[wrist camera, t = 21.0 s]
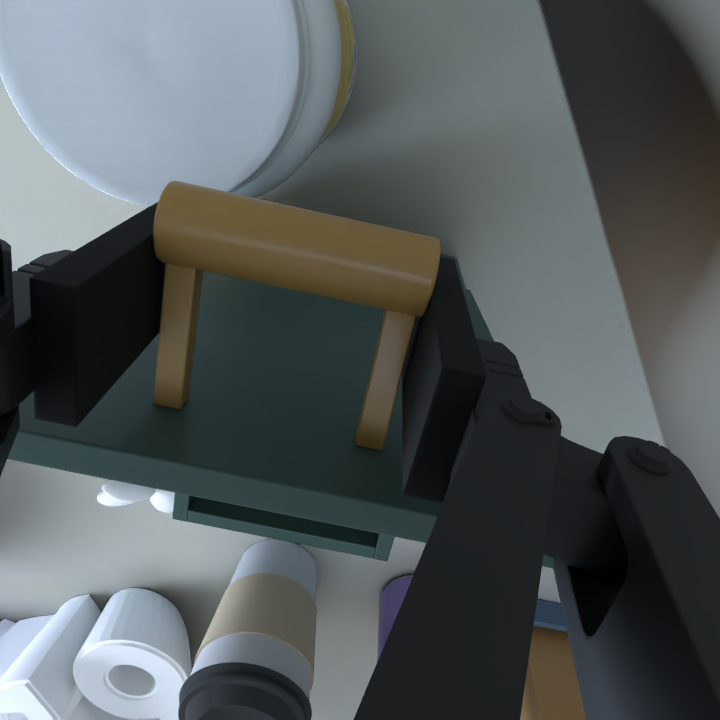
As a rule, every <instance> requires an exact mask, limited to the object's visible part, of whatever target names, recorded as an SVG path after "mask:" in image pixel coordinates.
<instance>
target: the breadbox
mask: <svg viewBox="0 0 720 720" xmlns="http://www.w3.org/2000/svg"><path fill="white" fill-rule="evenodd" d="M440 257H445V258H449V259H454V260H455V263H456V267H457V271H458V274H459V278H460V282H461V285H462V288H463V289H466V288H465V285H464V281H463V278H462V275H461V271H460V268H459V264H458V261H457V258H455V257H451V256H446V255H440ZM173 519H176V520H181V521H188V522H193V523H198V524H203V525H208V526H213V527H218V528H223V529H228V530H233V531H238V532H243V533H248V534H253V535H258V536H263V537H268V538H273V539H278V540H283V541H288V542H293V543H298V544H303V545H308V546H313V547H318V548H323V549H329V550H334V551H339V552H344V553H349V554H354V555H359V556H364V557H369V558H374V559H378V560H383V561H387V560H388V557H389V554H390V550H391V547H392V544H393V540H394V536H389V535H384V534H379V533H374V532H369V531H364V530H359V529H354V528H349V527H344V526H339V525H334V524H329V523H324V522H319V521H314V520H309V519H304V518H299V517H294V516H289V515H284V514H279V513H274V512H269V511H264V510H259V509H254V508H249V507H244V506H239V505H234V504H229V503H224V502H219V501H214V500H209V499H204V498H199V497H194V496H189V495H184V494H179V493H175V496H174V508H173Z"/></svg>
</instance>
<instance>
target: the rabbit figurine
mask: <svg viewBox="0 0 720 720" xmlns="http://www.w3.org/2000/svg"><path fill="white" fill-rule="evenodd" d="M102 490H103V491H102V492H101V493H100V494H99V495H98V497H97V500H98V502H100V503H101V504H103V505H107V506H121V505H127V504H132V503H135V502H138V501H145V500H148V499H149V498H150V500H151V503H152V504H153V505H154V507H155V508H157V509H158V510H159V511H162V512H166V513H169V512H173V508H174V496H175V493H174V492H169V491H164V490H159V489H154V488H149V487H144V486H139V485H134V484H129V483H124V482H119V481H114V480H110V481H108V482H106V483H105V484H104V485H103V486H102Z"/></svg>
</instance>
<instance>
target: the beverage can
mask: <svg viewBox="0 0 720 720" xmlns="http://www.w3.org/2000/svg"><path fill="white" fill-rule="evenodd" d="M412 578H413V575H406V576H402V577H399V578H397V579H395V580H393V581H392V582H391V583H390V584H389V585H388V586H387V587H386V588H385V589H384V591H383V592H382V594H381V596H380V603H379V630H378V657H377V662H378V660H379V657H380V655H381V652H382V650H383V648H384V645H385V643H386V640H387V638H388V636H389V633H390V631H391V628H392V626H393V623H394V621H395V619H396V616H397V614H398V611H399V609H400V607H401V604H402V602H403V599H404V597H405V594H406V592H407V590H408V587H409V585H410V582H411V580H412Z"/></svg>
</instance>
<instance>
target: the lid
mask: <svg viewBox="0 0 720 720" xmlns="http://www.w3.org/2000/svg"><path fill="white" fill-rule="evenodd" d="M153 244H154V251H155V254H156V257H157V258H158V259H159V260H160V261H161V262H163V263H165V274H164V286H163V297H162V309H161V320H160V331H159V334H158V335H157V336H156V337H155V338H154V339H153V340H152V342H151V343H150V344H149V345H148V346H147V347H146V348H145V350H144V351H143V352H142V353H141V354H140V355H139V356H138V358H137V359H136V360H135V361H134V362H133V363H132V364H131V366H130V367H129V368H128V369H127V370H126V371H125V372H124V374H123V375H122V376H121V377H120V378H119V379H118V380H117V382H116V383H115V384H114V385H113V386H112V387H111V388H110V390H109V391H108V392H107V393H106V394H105V395H104V396H103V398H102V399H101V400H100V401H99V402H98V403H97V404H96V406H95V407H94V408H93V409H92V410H91V411H90V412H89V414H88V415H87V416H86V417H85V418H84V419H83V420H82V422H81V423H80V424H79V425H78V426H77V427H73V426H68V425H63V424H58V423H53V422H48V421H43V420H39V419H35V414H34V391H33V392H32V393H31V394H30V395H29V396H28V397H27V398H26V399H25V400H24V401H23V402H21V403H20V404H19V413H20V428H19V430H18V433H17V435H16V438H15V440H14V443H13V446H12V448H11V451H10V453H9V456H8V458H7V459H10V460H15V461H20V462H25V463H30V464H35V465H40V466H45V467H50V468H55V469H60V470H65V471H70V472H75V473H80V474H85V475H90V476H94V477H99V478H104V479H109V480H114V481H119V482H124V483H129V484H134V485H139V486H144V487H149V488H154V489H159V490H164V491H169V492H174V493H179V494H184V495H189V496H194V497H199V498H204V499H209V500H214V501H219V502H224V503H229V504H234V505H239V506H244V507H249V508H254V509H259V510H264V511H269V512H274V513H279V514H284V515H289V516H294V517H299V518H304V519H309V520H314V521H319V522H324V523H329V524H334V525H339V526H344V527H349V528H354V529H359V530H364V531H369V532H374V533H379V534H384V535H389V536H394V537H399V538H404V539H409V540H414V541H419V542H424V543H427V541H428V539H429V537H430V534H431V532H432V529H433V527H434V524H435V522H436V520H437V517H438V515H439V512H440V510H441V508H442V505H443V503H444V500H445V498H446V495H447V493H448V491H449V488H450V486H451V480H450V483H449V486H448V489H447V492H446V494H445V497H444V500H443V503H440V502H435V501H431V500H426V499H421V498H416V497H411V496H406V495H403V452H402V371H403V367H404V363H405V359H406V355H407V351H408V348H409V344H410V340H411V336H412V332H413V328H414V324H415V320H416V317H422V316H423V315H424V314H425V312H426V310H427V308H428V306H429V303H430V300H431V297H432V293H433V289H434V286H435V282H436V277H437V273H438V267H439V262H440V255H441V242H440V239H438V238H436V237H432V236H427V235H423V234H418V233H413V232H409V231H404V230H400V229H395V228H391V227H386V226H381V225H377V224H372V223H368V222H363V221H359V220H354V219H349V218H345V217H340V216H336V215H331V214H326V213H322V212H317V211H313V210H308V209H304V208H299V207H294V206H290V205H285V204H281V203H276V202H272V201H267V200H262V199H258V198H253V197H249V196H244V195H239V194H235V193H230V192H226V191H221V190H217V189H212V188H207V187H203V186H198V185H194V184H189V183H184V182H180V181H171V182H169V183H168V184H167V185H166V186H165V188H164V190H163V192H162V194H161V196H160V199H159V202H158V205H157V208H156V213H155V218H154V226H153ZM462 289H463V288H462ZM463 293H464V296H465V300H466V304H467V307H468V311H469V315H470V318H471V322H472V326H473V329H474V333H475V337H476V338H480V339H485V340H489V341H494V340H493V338H492V336H491V334H490V332H489V329H488V327H487V325H486V323H485V321H484V319H483V317H482V315H481V312H480V310H479V308H478V306H477V304H476V302H475V300H474V297H473V295H472V293H471V291H470V290H467V289H463ZM553 561H554V559H553V558H551V557H549V556H546V555H543V562H542V566H544V567H549V568H553Z"/></svg>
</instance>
